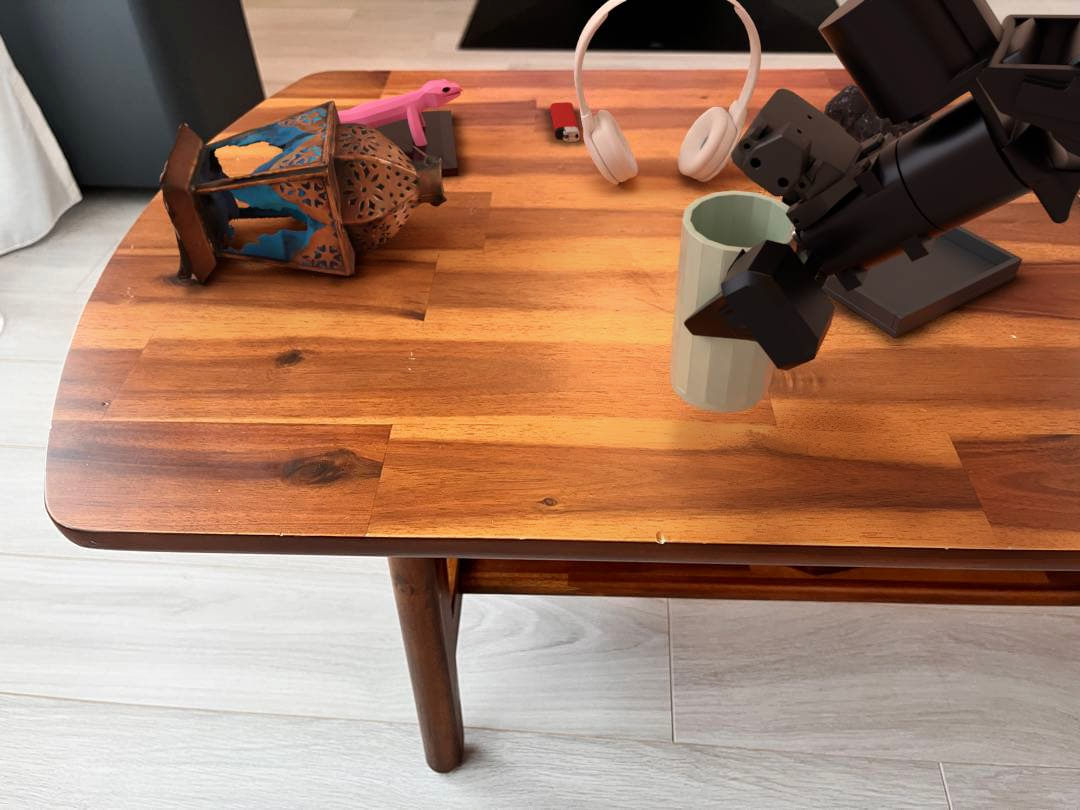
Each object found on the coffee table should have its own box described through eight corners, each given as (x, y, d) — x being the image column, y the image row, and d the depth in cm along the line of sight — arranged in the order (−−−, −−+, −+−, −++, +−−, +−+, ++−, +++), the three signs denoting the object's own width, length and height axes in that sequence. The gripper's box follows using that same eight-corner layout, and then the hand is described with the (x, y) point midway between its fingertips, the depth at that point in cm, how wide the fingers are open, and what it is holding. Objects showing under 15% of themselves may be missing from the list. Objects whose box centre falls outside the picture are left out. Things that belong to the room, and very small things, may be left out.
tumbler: (790, 389, 63) (824, 227, 54) (711, 427, 60) (734, 264, 51) (725, 336, 67) (747, 179, 58) (649, 370, 65) (660, 211, 56)
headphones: (569, 165, 99) (572, -26, 86) (734, 160, 100) (762, -31, 86) (574, 198, 94) (578, -1, 81) (748, 192, 95) (780, -6, 81)
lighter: (573, 102, 109) (580, 131, 103) (573, 111, 110) (580, 141, 104) (550, 102, 109) (555, 132, 103) (550, 112, 109) (555, 142, 104)
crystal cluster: (927, 136, 105) (943, 48, 99) (953, 182, 95) (973, 87, 89) (809, 138, 107) (818, 52, 101) (821, 184, 97) (832, 91, 91)
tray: (1015, 278, 82) (1023, 258, 81) (894, 338, 76) (901, 318, 75) (878, 203, 93) (883, 185, 91) (761, 251, 86) (765, 232, 85)
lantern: (212, 315, 90) (460, 283, 91) (149, 272, 74) (451, 234, 75) (196, 160, 92) (439, 131, 93) (131, 86, 76) (426, 51, 77)
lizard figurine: (471, 174, 98) (467, 110, 93) (285, 187, 96) (271, 122, 91) (463, 117, 109) (459, 56, 104) (296, 127, 107) (283, 66, 102)
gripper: (883, 4, 52) (687, 142, 64) (790, 130, 40) (569, 274, 52) (982, 156, 55) (777, 264, 66) (923, 319, 43) (685, 416, 54)
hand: (709, 297), depth 60 cm, fingers closed on tumbler, 7 cm apart
